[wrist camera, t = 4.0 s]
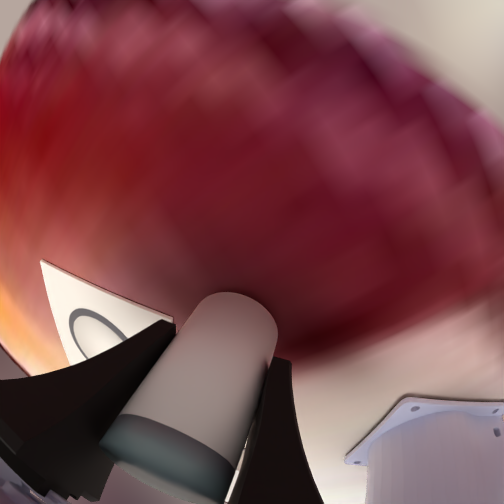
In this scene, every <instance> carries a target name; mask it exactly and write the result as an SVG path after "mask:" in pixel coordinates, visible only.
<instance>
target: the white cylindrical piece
mask: <svg viewBox="0 0 504 504" xmlns="http://www.w3.org/2000/svg"><path fill="white" fill-rule="evenodd" d="M277 339H278V329H277V325H276V323H275V321H274V319H273V317H272V315H271V314H270V313H269V312H268V310H267V309H266V308H265V307H263V306H262V305H261V304H260V303H258V302H257V301H255V300H253V299H252V298H249V297H247V296H245V295H242V294H238V293H232V292H220V293H215V294H212V295H209V296H207V297H206V298H204V299H203V300H202V301H201V302H200V303H199V304H198V306H197V307H196V308H195V310H194V311H193V313H192V314H191V315H190V317H189V318H188V319H187V321H186V322H185V323H184V325H183V326H182V328H181V329H180V330H179V332H178V333H177V334H176V336H175V337H174V338H173V340H172V341H171V343H170V344H169V345H168V347H167V348H166V349H165V351H164V352H163V354H162V355H161V356H160V358H159V359H158V361H157V362H156V363H155V365H154V366H153V367H152V369H151V370H150V372H149V373H148V374H147V376H146V377H145V379H144V380H143V381H142V383H141V384H140V385H139V387H138V388H137V390H136V391H135V392H134V394H133V395H132V397H131V398H130V399H129V401H128V402H127V404H126V405H125V406H124V408H123V409H122V411H121V412H120V414H119V415H118V416H117V418H116V419H115V421H114V422H113V423H112V425H111V426H110V428H109V429H108V430H107V432H106V433H105V435H104V436H103V438H102V439H101V440H100V442H99V446H100V448H101V450H102V451H103V452H104V453H105V455H106V456H107V457H108V458H109V459H110V460H112V461H113V462H114V463H115V464H116V465H118V466H119V467H120V468H122V469H123V470H124V471H126V472H127V473H129V474H130V475H132V476H133V477H135V478H136V479H138V480H140V481H141V482H143V483H145V484H147V485H149V486H151V487H153V488H155V489H157V490H159V491H161V492H164V493H166V494H168V495H171V496H173V497H176V498H179V499H182V500H185V501H188V502H192V503H196V504H224V502H225V499H226V497H227V494H228V491H229V489H230V486H231V483H232V481H233V478H234V475H235V472H236V469H237V467H238V464H239V461H240V458H241V455H242V452H243V449H244V447H245V444H246V441H247V438H248V435H249V432H250V429H251V426H252V422H253V419H254V416H255V413H256V410H257V407H258V404H259V400H260V397H261V393H262V389H263V385H264V382H265V379H266V375H267V372H268V369H269V366H270V363H271V360H272V357H273V354H274V350H275V347H276V343H277Z"/></svg>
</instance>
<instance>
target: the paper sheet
mask: <svg viewBox="0 0 504 504" xmlns="http://www.w3.org/2000/svg"><path fill="white" fill-rule="evenodd" d="M40 263H41V268H42V273H43V277H44V282H45V286H46V290H47V294H48V298H49V302H50V306H51V309H52V313H53V316H54V320H55V323H56V326H57V329H58V332H59V335H60V338H61V341H62V344H63V347H64V350H65V352H66V355H67V358H68V360H69V363H70V365H71V366H72V365H74V364H77V363H80V362H82V361H85V360H87V359H89V358H91V357H94V356H96V355H98V354H100V353H102V352H104V351H106V350H108V349H110V348H112V347H114V346H116V345H117V344H119V343H121V342H123V341H125V340H126V339H128V338H130V337H132V336H133V335H135V334H137V333H138V332H140V331H142V330H143V329H145V328H147V327H148V326H150V325H152V324H153V323H155V322H157V321H158V320H160V319H163V320H166V321H168V322H171V323H173V317H170V316H168V315H165V314H162V313H160V312H157V311H155V310H152V309H150V308H147V307H145V306H142V305H140V304H137V303H135V302H132V301H130V300H128V299H125V298H123V297H121V296H118V295H116V294H114V293H111V292H109V291H107V290H105V289H102V288H100V287H98V286H96V285H93V284H91V283H89V282H87V281H85V280H83V279H81V278H79V277H76V276H74V275H72V274H70V273H68V272H66V271H64V270H62V269H60V268H58V267H56V266H54V265H52V264H50V263H48V262H47V261H45V260H43V259H42V260H40Z"/></svg>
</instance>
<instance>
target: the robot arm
mask: <svg viewBox="0 0 504 504" xmlns="http://www.w3.org/2000/svg"><path fill="white" fill-rule="evenodd" d="M175 336H176V324H174V323H171V322H168V321H166V320H163V319H160V320H158V321H157V322H155V323H153V324H152V325H150V326H148V327H147V328H145V329H143V330H142V331H140V332H138V333H137V334H135V335H133V336H132V337H130V338H128V339H126V340H125V341H123V342H121V343H119V344H117V345H116V346H114V347H112V348H110V349H108V350H106V351H104V352H102V353H100V354H98V355H96V356H94V357H91V358H89V359H87V360H85V361H82V362H80V363H77V364H74V365H72V366H69V367H66V368H63V369H60V370H56V371H53V372H49V373H45V374H41V375H36V376H31V377H26V378H19V379H8V380H0V504H46V503H47V504H71V503H70V502H68V501H67V499H68V497H69V496H71V497H73V498H74V499H76V500H78V499H79V497H80V496H83V497H84V498H86V499H87V500H89V501H91V502H94V501H99V500H100V497H101V494H102V492H103V489H104V487H105V484H106V481H107V479H108V476H109V474H110V472H111V470H112V468H113V466H114V462H113V461H112V460H110V459H109V458H108V457H107V456H106V455H105V453H104V452H103V451H102V450H101V448H100V446H99V442H100V440H101V439H102V438H103V436H104V435H105V433H106V432H107V430H108V429H109V428H110V426H111V425H112V423H113V422H114V421H115V419H116V418H117V416H118V415H119V414H120V412H121V411H122V409H123V408H124V406H125V405H126V404H127V402H128V401H129V399H130V398H131V397H132V395H133V394H134V392H135V391H136V390H137V388H138V387H139V385H140V384H141V383H142V381H143V380H144V379H145V377H146V376H147V374H148V373H149V372H150V370H151V369H152V367H153V366H154V365H155V363H156V362H157V361H158V359H159V358H160V356H161V355H162V354H163V352H164V351H165V349H166V348H167V347H168V345H169V344H170V343H171V341H172V340H173V338H174V337H175ZM503 414H504V402H464V401H447V400H434V399H423V398H414V397H407V398H404V399H402V400H401V401H400V402H399V403H398V404H397V405H396V406H395V408H394V409H393V410H392V411H391V412H390V413H389V414H388V415H387V416H386V418H385V419H384V420H383V421H382V422H381V423H380V424H379V425H378V426H377V427H376V428H375V429H374V430H373V431H372V432H371V433H370V434H369V435H368V436H367V437H366V438H365V439H364V440H363V441H362V442H361V443H360V444H359V445H358V446H357V447H356V448H354V449H353V450H352V451H351V452H350V453H349V454H348V455H347V456H346V457H345V458H344V463H346V464H351V465H363V466H368V468H367V487H366V501H365V504H504V422H503V418H502V415H503ZM30 490H31V491H33V492H34V493H35V494H36V495H37V496H38V497H39V498H41V499H42V500H43V501H44V502H43V501H42V500H40V499H39V498H37V497H36V496H34V495H33V494H31V493H30ZM227 504H324V502H323V500H322V498H321V495H320V493H319V491H318V489H317V486H316V484H315V482H314V479H313V476H312V473H311V471H310V468H309V465H308V462H307V458H306V455H305V452H304V448H303V445H302V441H301V436H300V432H299V428H298V423H297V418H296V411H295V405H294V398H293V389H292V363H291V362H290V361H288V360H284V359H281V358H277V357H274V356H273V357H272V360H271V363H270V366H269V369H268V372H267V375H266V379H265V382H264V385H263V389H262V393H261V397H260V400H259V404H258V407H257V410H256V413H255V416H254V419H253V422H252V426H251V429H250V432H249V435H248V439H247V444H246V448H245V452H244V457H243V461H242V464H241V468H240V471H239V474H238V477H237V480H236V482H235V485H234V488H233V490H232V493H231V496H230V498H229V501H228V503H227Z"/></svg>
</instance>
